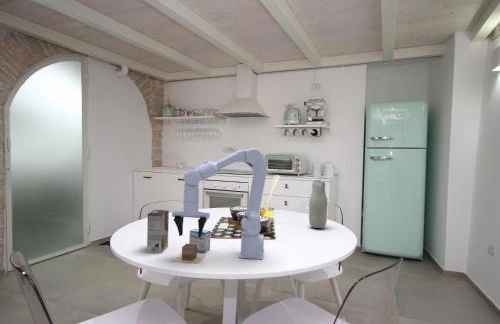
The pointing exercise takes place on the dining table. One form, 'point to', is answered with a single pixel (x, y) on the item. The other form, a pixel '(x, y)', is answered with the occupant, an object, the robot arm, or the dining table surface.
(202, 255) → the kraft envelope
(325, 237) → the dining table surface
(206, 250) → the medicine box
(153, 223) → the coffee box
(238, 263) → the dining table surface
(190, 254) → the walnut cube
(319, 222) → the grey bottle
